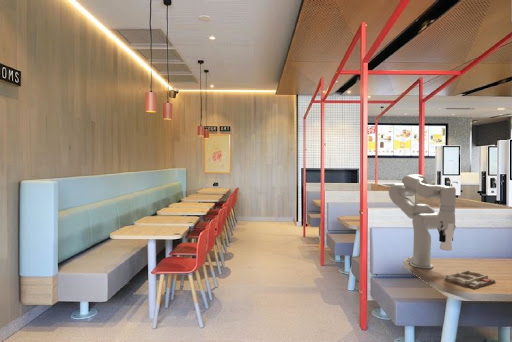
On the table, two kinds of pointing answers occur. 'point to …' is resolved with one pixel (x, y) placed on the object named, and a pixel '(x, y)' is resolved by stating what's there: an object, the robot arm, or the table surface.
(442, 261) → the table surface
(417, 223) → the robot arm
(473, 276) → the divided sorting tray
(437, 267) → the table surface
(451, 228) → the silver piece
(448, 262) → the table surface
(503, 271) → the table surface
